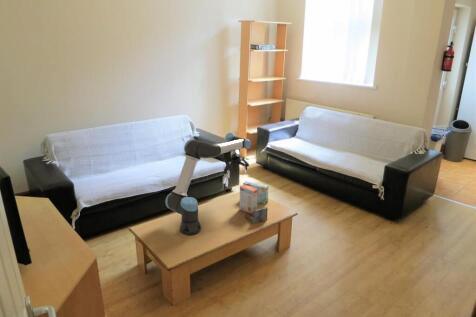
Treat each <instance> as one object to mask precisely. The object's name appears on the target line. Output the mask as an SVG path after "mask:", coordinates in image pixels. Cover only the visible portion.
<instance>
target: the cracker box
mask: <svg viewBox="0 0 476 317" xmlns="http://www.w3.org/2000/svg"><path fill="white" fill-rule="evenodd" d="M257 196H258V189H256V188H253V187H251V186H248V185H245V184H244V185H243V184H242V185H239V211H242V212H243V213H245V212H246V213H247V214H248V215H250V216H252V211H254V210H257V209H258V202H257Z"/></svg>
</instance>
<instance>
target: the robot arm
mask: <svg viewBox="0 0 476 317" xmlns="http://www.w3.org/2000/svg"><path fill="white" fill-rule="evenodd" d="M224 138H225V142H221V143H218V142H213V143H211V142H207V141H202V140H199V139H194V138H190V139H189V140H187V141H186V142H185V144H184V146H183V150H184V156H185V160H184V162H183V164H182V168H181V172H180V174H179V177H178V180H177V183H176V185H175V188H174V189H173V190H172V191H171V192H170V193H169V194H167V196H166V198H165V206H166V207H167V209H169V210H170V211H172V212H175V213H177V214H179V215H180V216H181V222H180V225H179V233H181V234H182V235H185V236H194V235H197V234H199V233H200V232H201V230H202V224H201V223H200V220H199V205H198V202H199V201H198V200H197V199H196V198H195V197H192V196H190V197H189V196H188V194H187V192H188V189H189V187H190V184H191V181H192V178H193V175H194V172H195V169H196V166H197V163H198V162H199V161H201V158H202V159H211V158H216V157H219V156H221V154H225V153H229V152H230V161H227V163H226V164H225V167H224V169H223V172H224V173H225V174H226V175H227V178H228V179H230V170H232V168H234V167H236V166H238V165H240V166H242V167H243V169H244V174H247V171H248V167H250V164H249V162H248V161H247V160H246V159H245V158H244V157H242V158H241V152H240V151H241V149H242V150H243V149H244V150H245V149H246V150H249V149H250V148H251V146H252V142H251V140H250V139H248V138H243V137H239V136H236V135H235V133H233V132H228V133H226V134H225V137H224Z"/></svg>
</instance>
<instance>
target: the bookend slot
mask: <svg viewBox="0 0 476 317" xmlns="http://www.w3.org/2000/svg"><path fill="white" fill-rule="evenodd" d="M268 210H269V209H268V207H267V206H266V207H262V208H257V210H254V211H252V215H250V214H248V213H246V212H244V217H245V218H246V219H247V220H248V221H249V222H251V223H252V224H257V223H261V222H264V221H267V220H268Z"/></svg>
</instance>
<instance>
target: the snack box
mask: <svg viewBox="0 0 476 317" xmlns="http://www.w3.org/2000/svg"><path fill="white" fill-rule="evenodd" d="M244 184H245V185H248V186H251V187H253V188H256V189H258V196H257V204H258V203H259V204H263V205H266V204H268V203H269V189H270V188H269V185H267V184H261V183H257V182H252V181H248V180H247V181H244V182H243V183H242V185H244Z"/></svg>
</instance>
